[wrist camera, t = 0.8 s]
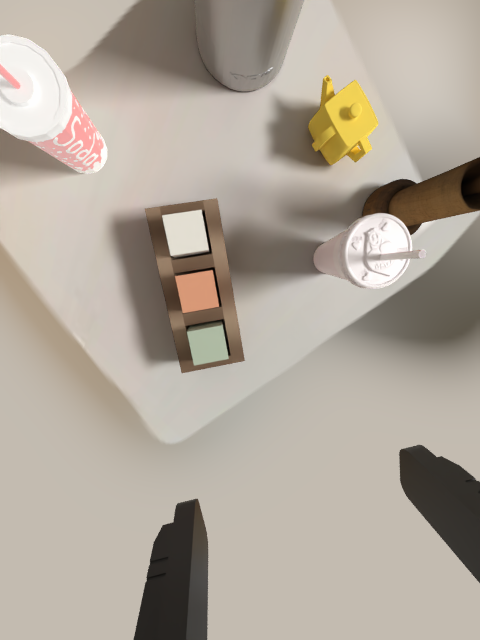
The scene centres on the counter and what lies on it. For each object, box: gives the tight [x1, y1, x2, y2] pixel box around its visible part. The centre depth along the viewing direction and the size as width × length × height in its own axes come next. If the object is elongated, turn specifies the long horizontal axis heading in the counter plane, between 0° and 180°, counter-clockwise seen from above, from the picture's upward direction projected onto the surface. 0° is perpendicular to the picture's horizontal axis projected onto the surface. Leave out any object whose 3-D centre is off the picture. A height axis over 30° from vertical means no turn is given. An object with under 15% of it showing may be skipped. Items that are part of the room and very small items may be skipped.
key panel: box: [145, 198, 245, 373], centre depth 28 cm, size 17×7×4 cm, turn 10°
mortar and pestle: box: [362, 157, 480, 235], centre depth 22 cm, size 7×6×18 cm
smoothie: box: [313, 213, 426, 289], centre depth 24 cm, size 6×6×14 cm
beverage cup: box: [0, 34, 107, 174], centre depth 19 cm, size 6×6×14 cm
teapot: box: [308, 75, 378, 165], centre depth 26 cm, size 8×6×5 cm
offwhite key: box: [162, 210, 209, 258], centre depth 25 cm, size 4×4×3 cm
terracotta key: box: [175, 270, 219, 313], centre depth 26 cm, size 4×4×3 cm
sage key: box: [187, 320, 229, 365], centre depth 27 cm, size 4×4×3 cm
